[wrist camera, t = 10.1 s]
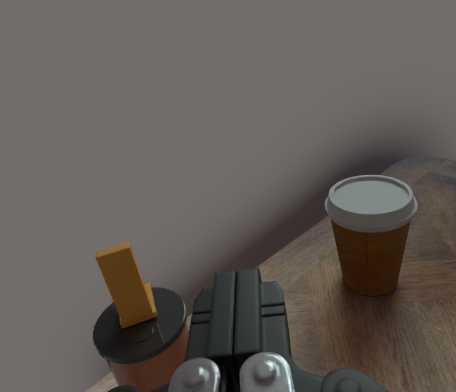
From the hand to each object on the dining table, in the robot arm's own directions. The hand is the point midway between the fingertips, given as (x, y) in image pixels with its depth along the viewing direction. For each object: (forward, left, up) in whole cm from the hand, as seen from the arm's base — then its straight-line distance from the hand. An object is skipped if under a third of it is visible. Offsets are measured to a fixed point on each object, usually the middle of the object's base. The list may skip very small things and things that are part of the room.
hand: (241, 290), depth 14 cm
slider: (-2, +17, -13) cm, 21 cm away
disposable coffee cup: (+24, +18, -26) cm, 40 cm away
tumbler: (-3, +16, -25) cm, 30 cm away
